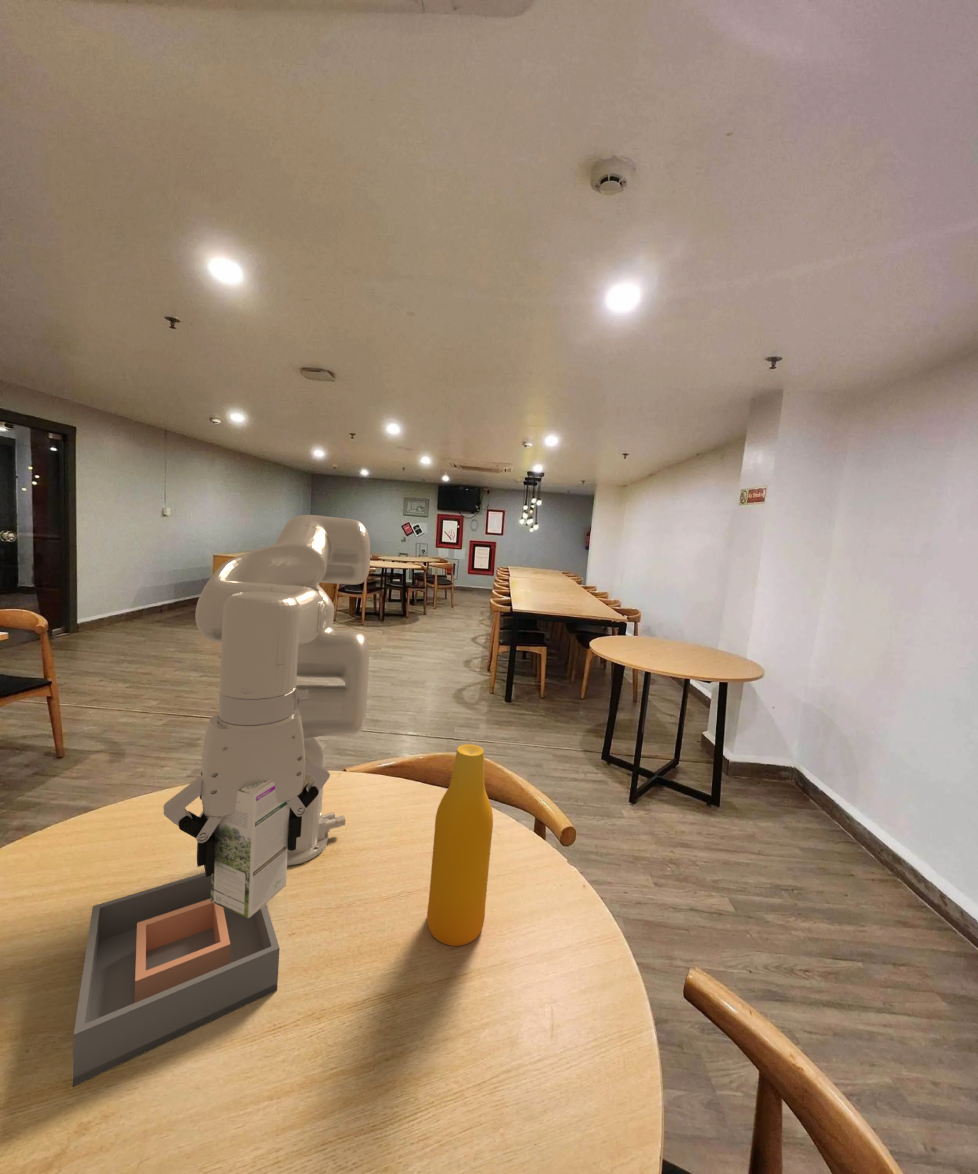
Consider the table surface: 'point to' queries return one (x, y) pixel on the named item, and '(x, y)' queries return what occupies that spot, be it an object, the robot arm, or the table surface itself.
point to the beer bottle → (461, 853)
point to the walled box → (166, 971)
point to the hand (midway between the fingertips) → (250, 854)
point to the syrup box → (251, 851)
